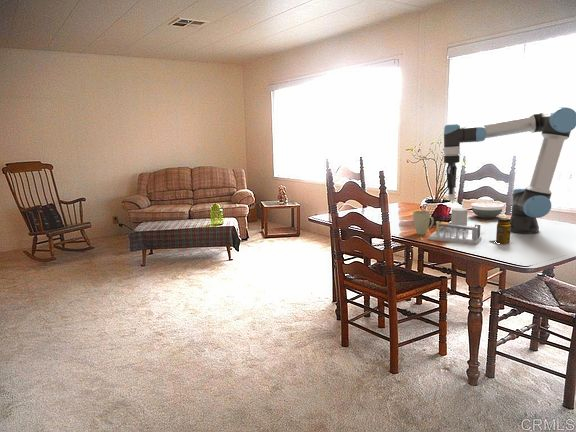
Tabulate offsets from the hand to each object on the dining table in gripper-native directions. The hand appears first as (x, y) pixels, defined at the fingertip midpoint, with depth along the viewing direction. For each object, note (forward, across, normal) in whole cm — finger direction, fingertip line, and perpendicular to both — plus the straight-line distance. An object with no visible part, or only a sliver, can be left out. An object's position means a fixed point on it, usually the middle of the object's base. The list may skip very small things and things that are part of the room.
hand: (451, 200), depth 216 cm
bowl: (+20, -57, +9) cm, 61 cm away
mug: (+19, +1, -15) cm, 24 cm away
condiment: (+20, +4, +24) cm, 32 cm away
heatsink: (+19, +6, +3) cm, 21 cm away
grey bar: (+14, +6, +5) cm, 16 cm away
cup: (+20, -15, +1) cm, 25 cm away
